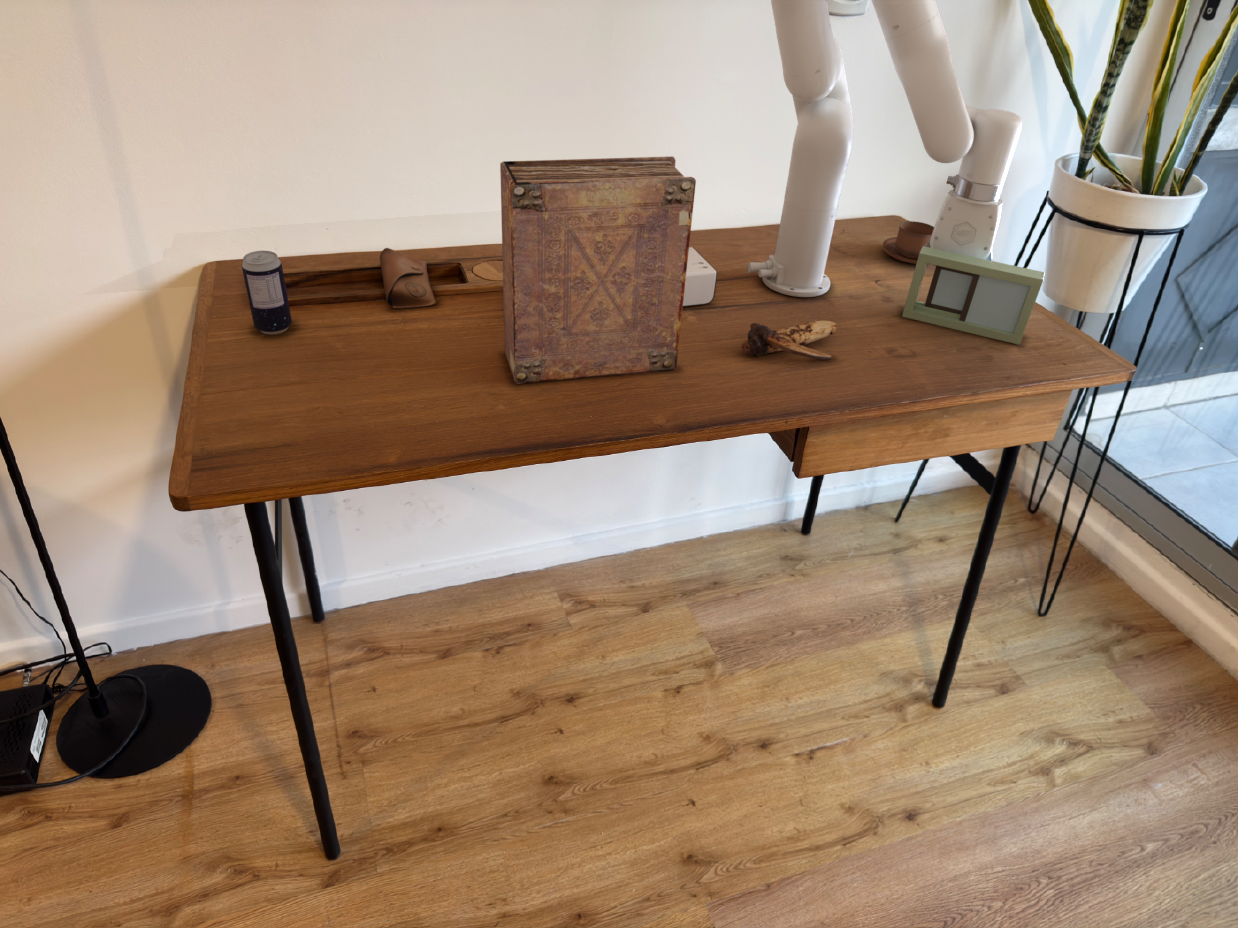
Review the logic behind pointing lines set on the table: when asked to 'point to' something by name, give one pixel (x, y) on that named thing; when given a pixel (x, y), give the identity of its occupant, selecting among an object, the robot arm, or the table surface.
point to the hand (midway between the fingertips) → (947, 288)
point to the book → (593, 265)
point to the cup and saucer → (908, 241)
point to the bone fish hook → (788, 339)
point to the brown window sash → (948, 289)
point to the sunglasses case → (405, 280)
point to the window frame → (980, 296)
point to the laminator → (699, 280)
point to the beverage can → (266, 292)
